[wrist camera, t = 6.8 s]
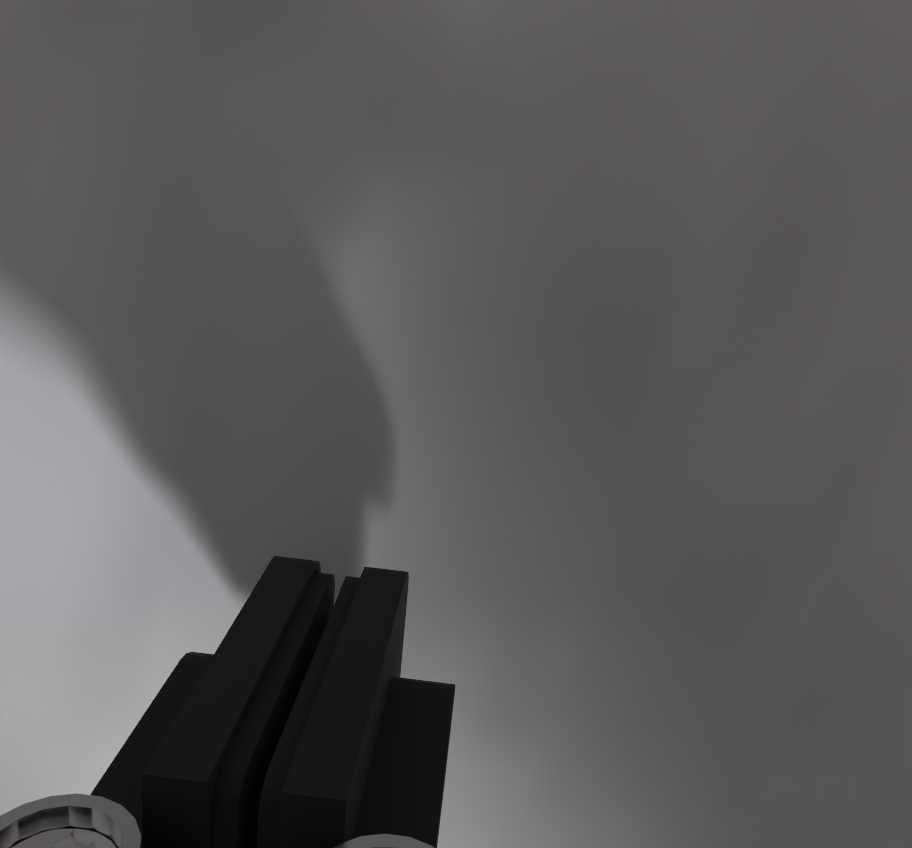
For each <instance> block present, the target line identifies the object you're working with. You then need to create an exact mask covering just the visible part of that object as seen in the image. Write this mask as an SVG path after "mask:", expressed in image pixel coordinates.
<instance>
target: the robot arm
mask: <svg viewBox="0 0 912 848" xmlns="http://www.w3.org/2000/svg"><path fill="white" fill-rule="evenodd" d="M408 578H409V575H408V572H404V571H396V570H387V569H379V568H370V567H365V568H364V570H363V572H362V575H361V577H360V578H357V577H349V576H346V578H345V580H344V582H343V585H342V587H341V590H340V592H339V595H338V597H337V600H336V602H335V604H334V591H335V577H334V575H332V574H324V573H321V569H320V563H319V561H312V560H303V559H295V558H287V557H278V556H274V557H273V559H272V560H271V562H270V563H269V565H268V566H267V568H266V570H265V571H264V573H263V575H262V576H261V578H260V580H259V581H258V583H257V585H256V586H255V588H254V590H253V591H252V593H251V594H250V596H249V598H248V599H247V601H246V603H245V604H244V606H243V608H242V609H241V611H240V613H239V614H238V616H237V618H236V619H235V621H234V623H233V624H232V626H231V627H230V629H229V631H228V632H227V634H226V636H225V637H224V639H223V641H222V642H221V644H220V646H219V647H218V649H217V651H216V652H215V654H214V655H213V654H205V653H197V652H190V653H186V654H185V655H184V657H183V658H182V659H181V660H180V661H179V663H178V664H177V666H176V667H175V669H174V670H173V672H172V673H171V675H170V676H169V678H168V679H167V681H166V682H165V684H164V685H163V687H162V688H161V690H160V691H159V693H158V694H157V696H156V697H155V699H154V700H153V702H152V703H151V705H150V706H149V708H148V709H147V711H146V712H145V714H144V715H143V717H142V718H141V720H140V721H139V723H138V724H137V726H136V727H135V729H134V730H133V732H132V733H131V735H130V736H129V738H128V739H127V741H126V742H125V744H124V745H123V747H122V748H121V750H120V751H119V753H118V754H117V756H116V757H115V759H114V760H113V762H112V763H111V765H110V766H109V768H108V769H107V771H106V772H105V774H104V775H103V777H102V778H101V780H100V781H99V783H98V784H97V786H96V787H95V789H94V790H93V792H92V793H91V795H85V794H68V795H57V796H49V797H46V798H43V799H39V800H36V801H32V802H29V803H25V804H23V805H21V806H19V807H17V808H15V809H13V810H11V811H9V812H7V813H5V814H3V815H1V816H0V848H437V842H438V834H439V825H440V817H441V808H442V800H443V791H444V782H445V773H446V765H447V756H448V747H449V738H450V729H451V720H452V711H453V702H454V693H455V684H447V683H439V682H431V681H423V680H414V679H406V678H400V672H401V661H402V649H403V638H404V627H405V616H406V604H407V593H408Z"/></svg>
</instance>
